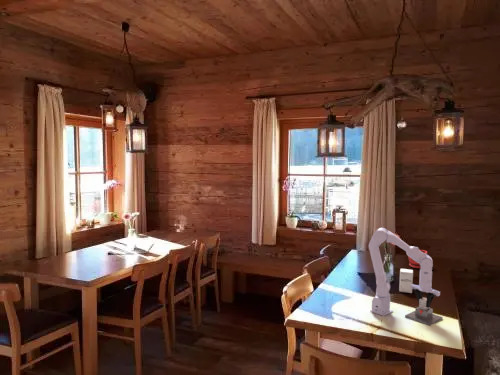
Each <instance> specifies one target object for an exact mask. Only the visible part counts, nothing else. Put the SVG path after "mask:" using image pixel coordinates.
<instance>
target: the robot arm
mask: <svg viewBox="0 0 500 375" xmlns="http://www.w3.org/2000/svg"><path fill="white" fill-rule="evenodd" d="M384 242H386V243H393V244H394V245H396V246H397V247H398V248H400V249H402V250H403V251H405V253H406V255H407V256H409V257H410V258H412V259H413V260H415V261H416V262H417V263H420V266H421V268H419V283H418V284H414V283H412V285H411V289H412V290H414V294H415V296H416V299H417V303H418V305H419V299H420V298H422V297H423V296H424V293H426V294H425V296H426V297H425V298H427V308H431V305H432V302H433V300H434V298H435V297H439V296H441V291H439V290H436V289H434V288H432V282H433V271H432V270H433V266H434V264H433V259H432V257H431V256H430V255H429V254H428V253H427V254H426V253H425V254H424V253H423V252H421V251H420V250H421V249H420V248H419V247H418V246H414V245H413V246H412V245H409V244H408V243H406V242H405V241H404V240H402V239H401V238H400V237H399V236H397V235H396V234H394V233H393V232H392V231H390V230H388V229H387V228H385V227H379V228H378V229H376V230H375V232H374V233H373V234H372V235H371V238H370V241H369V243H368V250H369V254H370V258H371V263H372V266H373V271H374V275H375V282H376V283H375V284H376V289H375V296H374V297H373V298H372V300H371V309H370V312H371V313H374V314H376V315H380V316H381V317H384V316H387V315H389V314H391V313H393V312H394V310H392V309H391V293H390V290H391V283H390V282H389V281H388V278H387V276H386V273H385V272H386V271H385V268H384V265H383V260H382V256H381V252H380V248H379V247H380V246H381V245H382V243H384Z"/></svg>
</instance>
